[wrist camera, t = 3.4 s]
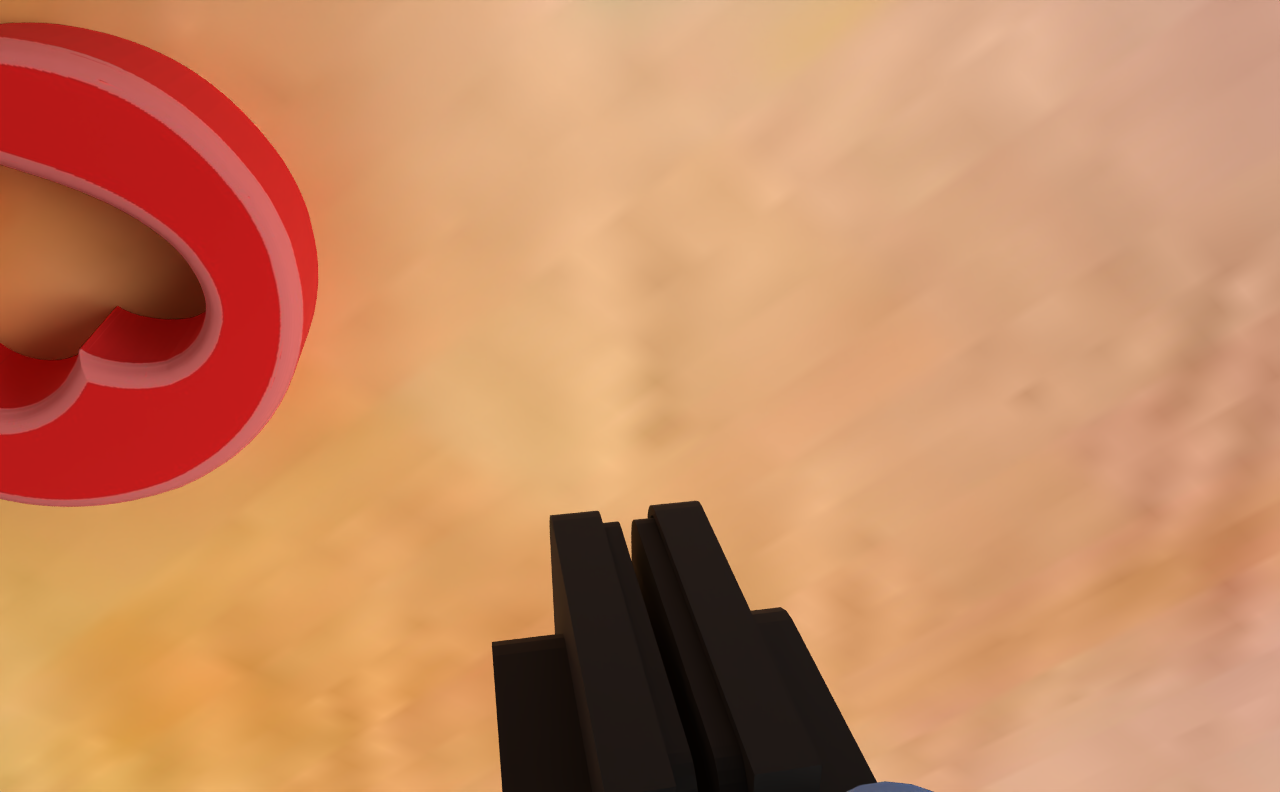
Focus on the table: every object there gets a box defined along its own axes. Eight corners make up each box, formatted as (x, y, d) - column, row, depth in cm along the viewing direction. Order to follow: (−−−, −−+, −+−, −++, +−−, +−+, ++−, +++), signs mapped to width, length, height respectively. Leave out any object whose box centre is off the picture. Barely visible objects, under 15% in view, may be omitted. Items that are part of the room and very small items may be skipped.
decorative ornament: (44, -88, 19) (-29, -91, 16) (407, 268, 23) (400, 316, 20) (-267, 237, 20) (-383, 287, 17) (127, 516, 24) (85, 592, 22)
